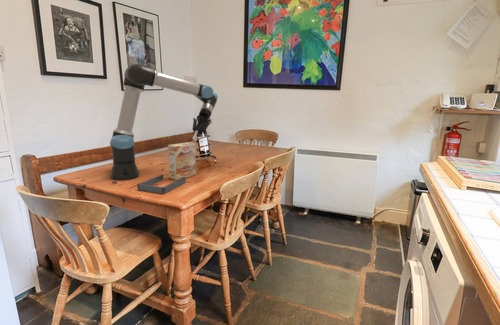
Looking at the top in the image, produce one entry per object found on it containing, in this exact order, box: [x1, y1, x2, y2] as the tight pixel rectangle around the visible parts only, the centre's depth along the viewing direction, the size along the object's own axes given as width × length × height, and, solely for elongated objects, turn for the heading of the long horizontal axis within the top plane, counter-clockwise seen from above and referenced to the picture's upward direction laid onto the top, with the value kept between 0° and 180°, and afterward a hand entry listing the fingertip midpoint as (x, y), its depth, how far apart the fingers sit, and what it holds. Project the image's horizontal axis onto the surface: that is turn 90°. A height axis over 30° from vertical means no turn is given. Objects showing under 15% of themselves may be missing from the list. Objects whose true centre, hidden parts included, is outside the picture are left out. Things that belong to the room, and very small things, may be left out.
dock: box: [137, 173, 186, 195], centre depth 150 cm, size 15×20×3 cm
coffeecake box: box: [167, 141, 197, 181], centre depth 166 cm, size 15×7×20 cm, turn 143°
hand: (194, 140), depth 177 cm, fingers closed
